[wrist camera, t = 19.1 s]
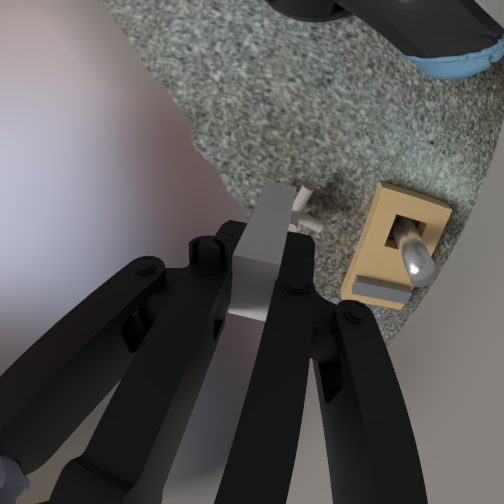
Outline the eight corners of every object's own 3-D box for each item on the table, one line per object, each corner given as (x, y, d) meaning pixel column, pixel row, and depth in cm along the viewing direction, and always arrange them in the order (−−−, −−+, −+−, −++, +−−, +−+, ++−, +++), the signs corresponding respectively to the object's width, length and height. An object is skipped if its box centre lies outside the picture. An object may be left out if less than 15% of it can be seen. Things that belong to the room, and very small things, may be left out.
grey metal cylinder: (395, 212, 43) (417, 259, 32) (415, 218, 42) (441, 265, 31) (387, 233, 46) (404, 284, 34) (407, 239, 45) (428, 289, 34)
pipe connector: (335, 190, 44) (339, 217, 36) (307, 234, 50) (304, 268, 42) (281, 163, 43) (272, 183, 35) (258, 210, 49) (245, 240, 41)
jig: (378, 180, 41) (385, 192, 37) (445, 202, 39) (456, 215, 35) (340, 288, 55) (341, 305, 51) (398, 300, 53) (402, 316, 49)
